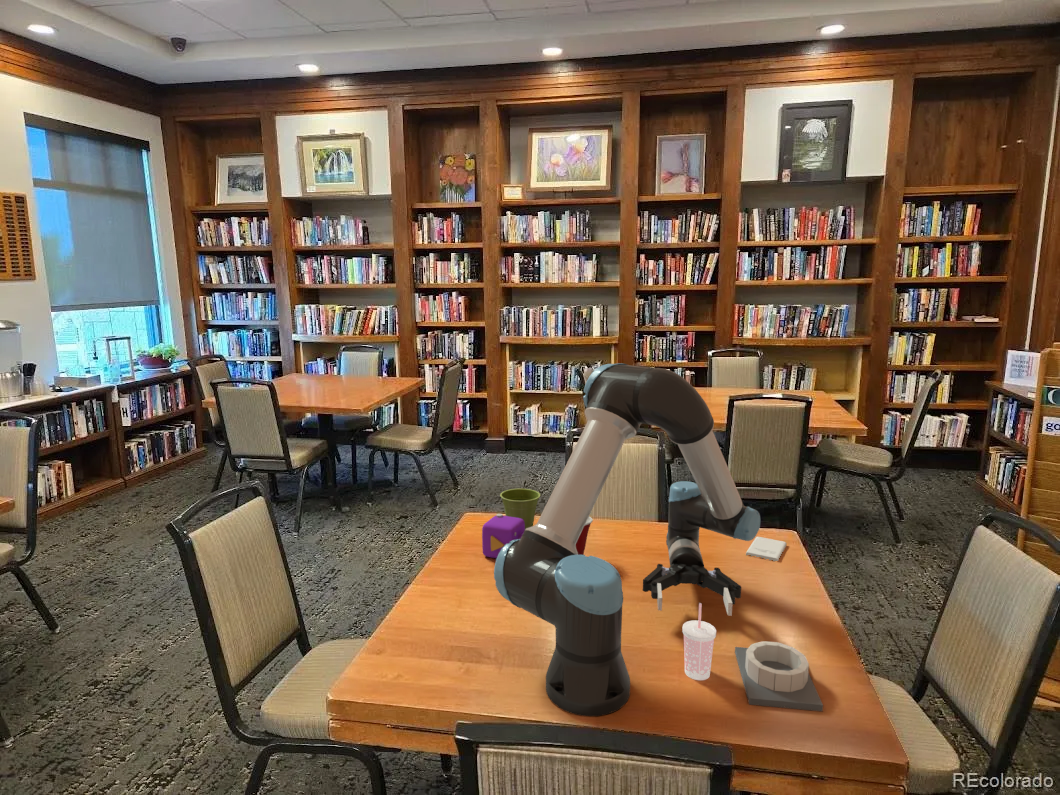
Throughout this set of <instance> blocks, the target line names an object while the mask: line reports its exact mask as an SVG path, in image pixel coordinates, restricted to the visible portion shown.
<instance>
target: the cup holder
mask: <svg viewBox="0 0 1060 795" xmlns="http://www.w3.org/2000/svg"><path fill="white" fill-rule="evenodd" d="M734 655H735V658H736V661H737V665H738V668H739V672H740V675H741V676H740V677H741V680H742V683H743V687H744V691H745V693H746V694H745V695H746V698H747V703H748V705H752V706H761V707H772V708H782V709H794V710H804V711H814V712H823V709H824V705H823V702H822V699H821V698H820V695H819V693H818V691H817V688H816V686H815V685H814V682H813V680H812V677H811V675H810V672H809V667H810V666H809V665H810V663H809V661H808V659H807V657H806V655H805V654H804V653H803V652H801V651H800V650H798V649H796V647H793V646H790V645H788V644H784V643H782V642H778V641H765V640H764V641H763V640H762V641H759V642H755V643H751V644H750V646H749V647H744V646H743V647H742V646H741V647H740V646H735V647H734Z"/></svg>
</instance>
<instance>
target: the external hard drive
mask: <svg viewBox="0 0 1060 795" xmlns="http://www.w3.org/2000/svg"><path fill="white" fill-rule="evenodd" d="M786 547H787V542H786V541H783V540H777V539H772V538H767V537H762V536H755V538H754V539H753V540H752V543H751V544H750V546H749V547H748V549H747V551H746V552H745V556H747V555H751V556H750V557H752V556H756V557H761V558H760V559H763V558H765V559H764V560H766V559H769V560H768V561H771V560H773V561H772V562H775V561H778V562H779V560H780V559H779V558H781V557H780V556H782V555H783V553H782V552H784V551H785V550H786ZM781 554H782V555H781ZM756 557H755V558H756Z"/></svg>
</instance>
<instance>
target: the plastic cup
mask: <svg viewBox="0 0 1060 795" xmlns="http://www.w3.org/2000/svg"><path fill="white" fill-rule="evenodd" d="M593 521H594V520H593V518H592V517H591V516H590V515H589V517H588V519H587V521H586V523H585V526H584V528H583V530H582V532H581V534H580V536H579V538H578V540H577V543H576V549H577V552H578V555H585V549H586V544H587V540H588V535H589V530H590V527H591V524H592V523H593Z"/></svg>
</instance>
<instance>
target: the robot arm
mask: <svg viewBox="0 0 1060 795" xmlns="http://www.w3.org/2000/svg"><path fill="white" fill-rule="evenodd" d="M583 393H585V395H583V396H582V397H583V404H584V407H585V409H584V416H585V418H586V421H587V422H586V424H585V425H584V428H583V429H582V432H581V434H580V436H579V438H578V440H577V442H576V444H575V446H574V448H573V450H572V452H571V454H570V457H569V458H568V460H567V462H566V465H565V466H564V468H563V470H562V472H561V474H560V476H559V479H558V480H557V482H556V484H555V486H554V488H553V490H552V492H551V494H550V496H549V498H548V500H547V502H546V504H545V506H544V508H543V510H542V512H541V515H540V516H539V519H538V520H537V522H536V524H533V526H532V527H529V528H526V529H525V531H524V533H523V535H522V537H521V539H517V540H512V541H510V543H509V544H506V545H505V546H504V547H503V548H502V549H501V551H500V552H499V554H498V557H497V558H495V564H494V567H493V568H494V569H493V579H494V581H495V587H496V589H497V591H498V593H499V594H500V596H501V597H503V598H504V599H505V600H507V601H509V602H510V604H512V605H513V606H514V607H517V608H519V609H521V610H523V611H526V612H528V613H529V614H532V615H534V616H536V617H538V618H539V619H541V620H543V621H545V622H547V623H550V625H553V626H554V628H555V646H554V647H555V648H554V650H553V653H552V656H551V660H550V661H549V662H550V663H549V664H548V667H547V670H546V674H545V692H546V695H547V697H548V699H549V700H550V701H551V702H552V703H553V704H554V705H555V706H557V707H558V708H559V709H560V710H562V711H563V710H564V711H565V712H568V713H570V714H574V715H577V716H584V717H585V716H586V717H598V716H605V715H609V714H611V713H614V712H616V711H619V710H620V709H621V708H622V707H623V706H625V705H626V703H627V702H628V701H629V698H630V695H631V679H630V674H629V672H628V668H627V665H626V661H625V659H624V655H623V653H622V622H623V604H624V594H623V593H624V592H623V582H622V578H621V575H620V573H619V571H618V570H617V569H616V567H615V566H614V565H612V564H611V563H610V562H608V560H607V561H606V560H605V559H602V558H600V557H597V556H594V555H589V556H586V555H585V554H584V555H578V552H577V549H576V543H577V540H578V538H579V536H580V534H581V532H582V530H583V528H584V526H585V523H586V521H587V519H588V517H589V516H590V515H591V513H592V511H593V508H594V506H595V504H596V502H597V500H598V498H599V496H600V494H601V492H602V490H603V488H604V485H605V484H606V481H607V480H608V477H609V475H610V473H611V472H612V468H613V466H614V464H615V463H616V461H617V458H618V456H619V454H620V451H621V449H622V447H623V445H624V443H625V441H626V440H629V439H631V438H634V437H636V435H637V433H638V430H639V429H640V426H641V425H648V426H654V427H657V428H659V429H661V430H662V431H664V432H665V433H666V435H667V437H668V438H669V440H670V441H671V442H672V443H673V444H676V445H677V446H678V448H679V450H680V452H681V454H682V456H683V458H684V461H685V463H686V464H687V466H688V469H689V471H690V473H691V475H692V477H693V480H694V482H692V481H686V480H681V481H676V482H673V483H672V484H671V485H670V487H669V494H668V495H669V496H668V517H667V518H668V522H667V523H668V524H667V533H666V546H667V551H668V557H669V558H668V559H669V560H668V561H669V567H666V566H663V564H662V563H657V565H656V568H655V569H654V570H652V571H651V572H650V573H649V574H648V575H647V576H645V577H644V578H643V580H642V591H643V592H644V593H647V592H650V596H651V599H652V600H657V610H658V611H660V612H661V611H662V610H663V593H662V592H664V590H666V589H669V588H670V587H672V586H674V587H677V586H678V585H680V584H684V585H685V584H689V585H697V586H699V587H700V588H703V589H705V588H707V589H708V590H710V591H712V592H714V593H715V594H718V595H720V596H721V597H722V598H723V599H722V600H723V604H724V608H725V611H726V614H727V616H731V617H732V615H733V605H735V604H736V599H741V597H742V596H741V595H742V586H741V585H740V584H739V583H738V582H736V581H734V580H733V579H732V578H731V577H729V576H728V575H726V574H725V573H724V572H722V570H721V569H720V567H714V568H713V570H708V569H707V568H706V567H705V564H704V561H703V556H702V552H701V549H700V544H699V543H700V542H699V540H700V528H701V529H705V530H708V531H711V532H715V533H717V534H721V535H724V536H726V537H730V538H733V539H734V540H735V539H736V540H741V541H745V542H750V541H753V540H755V538H756V537H757V535H758V534H759V533H758V532H759V530H760V528H761V514H760V512H759V511H758V510H757V509H754V508H752V507H751V506H745V505H744V502H743V500H742V498H741V496H740V493H739V491H738V488H737V487H736V483H735V481H734V479H733V477H732V474H731V472H730V470H729V469H730V468H729V467H728V464H727V462H726V459H725V457H724V455H723V452H722V450H721V448H720V445H719V443H718V441H717V438H716V436H715V433H714V432H713V430H714V427H715V426H714V425H715V420H714V417H713V416H712V415H713V414H712V413H711V410H710V408H709V406H708V404H707V403H706V401H705V400H704V398H703V397H702V395H700V393H699V392H698V390H697V389H696V388H695V387H694V386H693V385H692V384H691V383H690V382H689V381H688V380H686V379H685V378H684V377H683V376H682V375H680V374H678V373H677V372H675V371H672V370H670V369H667V368H664V367H663V368H661V367H652V366H651V367H650V366H649V367H648V366H641V365H639V366H638V365H631V364H630V365H629V364H627V363H622V362H621V363H619V362H617V363H607V364H602V365H600V366H598V367H597V368H596V369H594V370H593V371H592V372H591V374H590V375H589V376H588V378H587V380H586V382H585V385H584V388H583Z"/></svg>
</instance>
